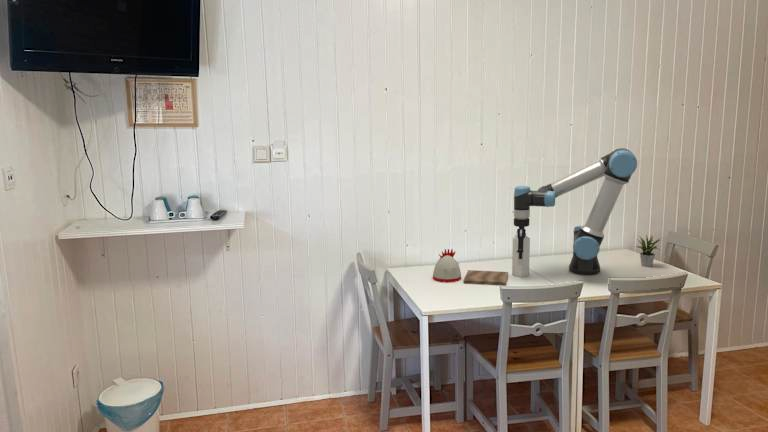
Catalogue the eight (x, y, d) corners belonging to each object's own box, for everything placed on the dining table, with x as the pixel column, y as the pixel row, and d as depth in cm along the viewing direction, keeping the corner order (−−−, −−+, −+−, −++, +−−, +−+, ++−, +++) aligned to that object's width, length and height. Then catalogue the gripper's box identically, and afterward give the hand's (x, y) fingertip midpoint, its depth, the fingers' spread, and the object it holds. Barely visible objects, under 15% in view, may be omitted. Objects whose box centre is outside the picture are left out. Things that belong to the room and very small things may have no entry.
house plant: (664, 270, 311) (666, 238, 308) (634, 269, 315) (636, 237, 312) (661, 263, 324) (663, 232, 321) (632, 261, 329) (634, 231, 325)
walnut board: (508, 274, 310) (508, 271, 310) (505, 285, 293) (505, 282, 293) (468, 272, 315) (468, 270, 315) (463, 283, 298) (463, 280, 298)
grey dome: (464, 281, 301) (464, 251, 299) (436, 283, 299) (436, 253, 296) (456, 273, 315) (456, 244, 312) (430, 275, 313) (429, 246, 310)
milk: (521, 277, 306) (521, 233, 301) (511, 274, 310) (512, 231, 306) (529, 275, 309) (530, 231, 305) (519, 272, 314) (520, 229, 310)
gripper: (514, 213, 315) (514, 257, 320) (512, 221, 295) (511, 268, 299) (530, 213, 313) (529, 257, 318) (528, 222, 293) (527, 268, 298)
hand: (520, 262), depth 309 cm, fingers closed on milk, 8 cm apart
